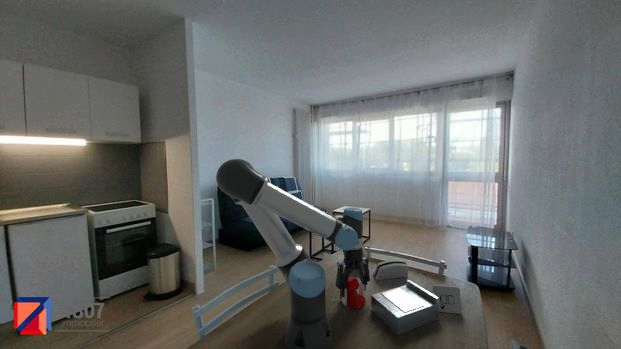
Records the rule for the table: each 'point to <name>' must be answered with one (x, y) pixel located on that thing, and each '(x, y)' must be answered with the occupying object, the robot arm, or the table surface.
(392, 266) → the grey curved slab
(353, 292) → the bracket
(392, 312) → the grey ridged box
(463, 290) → the table surface
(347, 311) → the table surface
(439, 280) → the table surface
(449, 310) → the electrical switch
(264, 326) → the table surface
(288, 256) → the robot arm
